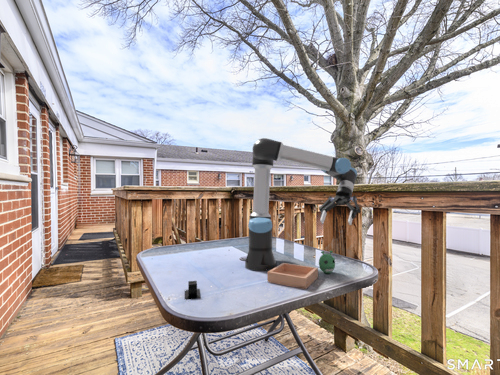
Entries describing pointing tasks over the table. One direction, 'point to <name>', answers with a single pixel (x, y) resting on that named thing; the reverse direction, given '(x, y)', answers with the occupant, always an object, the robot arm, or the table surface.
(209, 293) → the table surface
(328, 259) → the alien toy
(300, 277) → the planter tray
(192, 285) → the black box
